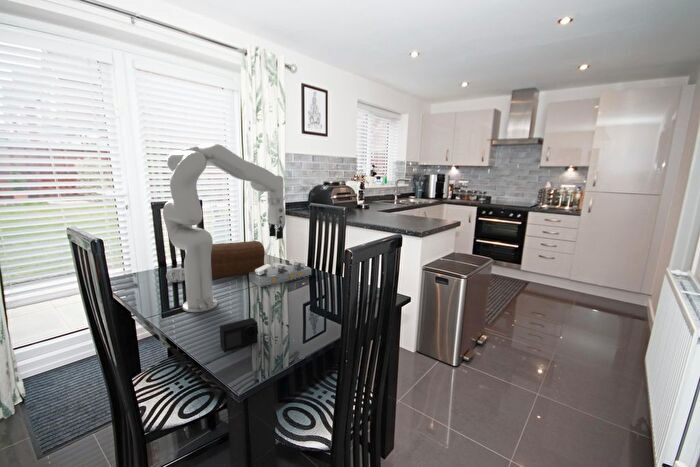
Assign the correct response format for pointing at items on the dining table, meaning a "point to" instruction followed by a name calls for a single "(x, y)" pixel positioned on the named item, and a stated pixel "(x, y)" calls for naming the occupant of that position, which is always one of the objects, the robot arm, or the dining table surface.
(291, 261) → the rocker far
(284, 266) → the rocker mid
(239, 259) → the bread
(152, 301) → the dining table surface
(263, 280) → the console
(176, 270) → the pendant light
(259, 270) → the rocker near
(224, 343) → the digital camera
